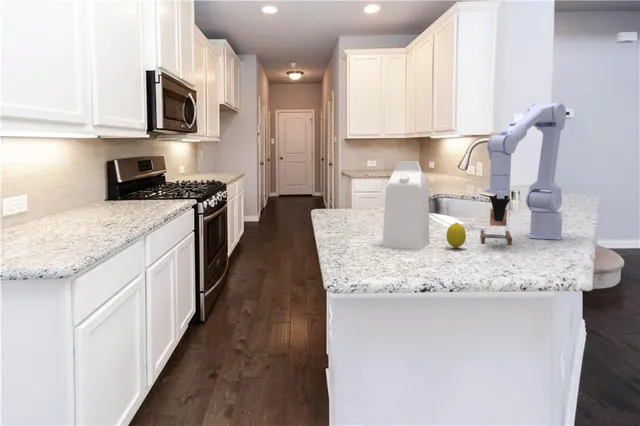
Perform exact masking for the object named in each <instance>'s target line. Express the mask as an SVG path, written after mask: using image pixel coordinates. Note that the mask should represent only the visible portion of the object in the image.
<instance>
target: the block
mask: <svg viewBox="0 0 640 426" xmlns="http://www.w3.org/2000/svg"><path fill="white" fill-rule="evenodd" d="M489 213H490V214H489V215H490V216H489V224H490V226H496V227H498V226H499V227H502V226H503V227H507V222H508V221H507V220H508V219H507V217H508V210H507V208H506V209H505V213H504V218H503V221H495V219H494V211H493V208H490V212H489Z"/></svg>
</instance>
